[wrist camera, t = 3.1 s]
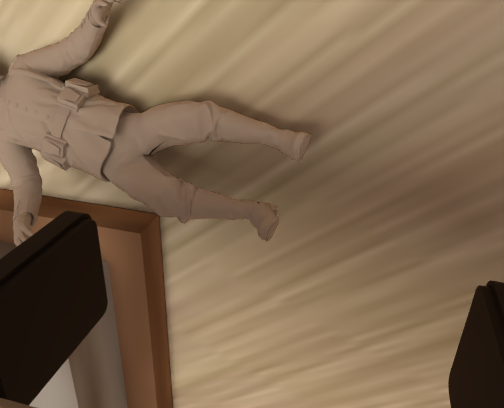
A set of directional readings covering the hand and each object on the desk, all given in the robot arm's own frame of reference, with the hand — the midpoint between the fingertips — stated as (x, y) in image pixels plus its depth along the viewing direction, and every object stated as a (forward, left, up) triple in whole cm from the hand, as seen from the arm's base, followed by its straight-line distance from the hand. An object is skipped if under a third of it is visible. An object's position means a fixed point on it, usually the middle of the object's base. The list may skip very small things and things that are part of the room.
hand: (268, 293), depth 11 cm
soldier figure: (0, 0, -4) cm, 4 cm away
